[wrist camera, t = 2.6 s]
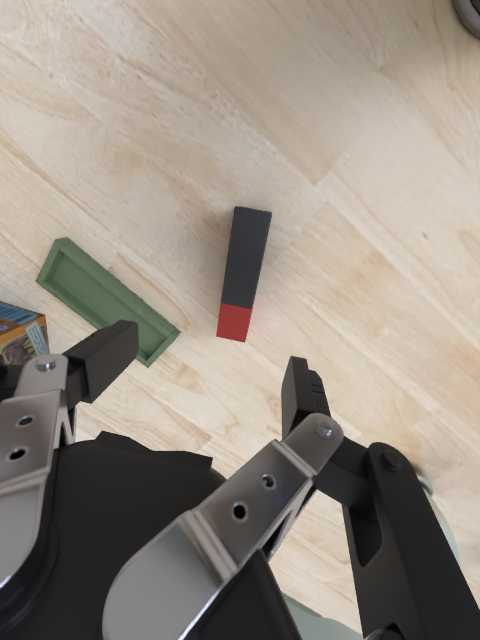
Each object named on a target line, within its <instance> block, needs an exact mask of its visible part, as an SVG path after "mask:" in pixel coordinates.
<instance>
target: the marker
mask: <svg viewBox="0 0 480 640" xmlns="http://www.w3.org/2000/svg"><path fill="white" fill-rule="evenodd" d="M271 217H272V212H267V211H261V210H256V209H251V208H245V207H237V206H235V208H234V215H233V223H232V230H231V237H230V244H229V251H228V258H227V265H226V272H225V279H224V286H223V293H222V300H221V307H220V314H219V321H218V328H217V335H216V336H217V337H222V338H226V339H231V340H235V341H240V342H245V340H246V336H247V332H248V328H249V323H250V318H251V313H252V308H253V304H254V299H255V294H256V289H257V284H258V280H259V275H260V270H261V265H262V260H263V255H264V251H265V246H266V241H267V236H268V231H269V226H270V222H271Z"/></svg>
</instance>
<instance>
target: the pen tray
mask: <svg viewBox="0 0 480 640" xmlns="http://www.w3.org/2000/svg"><path fill="white" fill-rule="evenodd" d="M36 282H37V283H38V284H39V285H41V286H42V287H43V288H45V289H46V290H47V291H48V292H50V293H51V294H52V295H54V296H55V297H56V298H58V299H59V300H60V301H61V302H63V303H64V304H65V305H67V306H68V307H69V308H71V309H72V310H73V311H74V312H76V313H77V314H78V315H80V316H81V317H82V318H83V319H85V320H86V321H87V322H89V323H90V324H91V325H93V326H94V327H95V328H96V329H98V330H99V329H102V328H105V327H108V326H111V325H113V324H114V323H116V322H117V321H119V320H120V319H124V320H129V321H133V322H137V324H138V338H139V350H138V354H137V356H136V358H135V359H137V360H138V361H139V362H141V363H142V364H143V365H144V366H146V367H147V368H149V367H150V365H151V364H152V363H153V362H154V361H155V360H156V359H157V358H158V357H159V356H160V355H161V354H162V353H163V352H164V351H165V350H166V349H167V347H168V346H169V345H170V344H171V343H172V342H173V341H174V340H175V339H176V338H177V337H178V335H179V334H180V333H181V332H180V331H179V330H177V329H176V328H175V327H174V326H173V325H171V324H170V323H169V322H168V321H167V320H165V319H164V318H163V317H162V316H161V315H159V314H158V313H157V312H156V311H155V310H153V309H152V308H151V307H150V306H149V305H147V304H146V303H145V302H144V301H143V300H141V299H140V298H139V297H138V296H137V295H135V294H134V293H133V292H132V291H131V290H129V289H128V288H127V287H126V286H125V285H123V284H122V283H121V282H120V281H119V280H117V279H116V278H115V277H114V276H113V275H111V274H110V273H109V272H108V271H107V270H105V269H104V268H103V267H102V266H101V265H99V264H98V263H97V262H96V261H95V260H93V259H92V258H91V257H90V256H89V255H87V254H86V253H85V252H84V251H83V250H81V249H80V248H79V247H78V246H77V245H75V244H74V243H73V242H72V241H71V240H69V239H68V238H61V239H56V240H55V242H54V244H53V246H52V248H51V250H50V252H49V254H48V256H47V258H46V261H45V263H44V265H43V267H42V269H41V271H40V273H39V275H38V277H37V279H36Z"/></svg>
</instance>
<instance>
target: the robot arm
mask: <svg viewBox="0 0 480 640" xmlns="http://www.w3.org/2000/svg"><path fill="white" fill-rule="evenodd" d="M453 1H454V4H455V8H456V11H457V13H458V15H459V17H460V19H461V21H462V23H463V24H464V25H465V26H466V28H467V29H468V30H469V31H470V32H472V33H473V34H474V35H476V36H478V37H480V0H453ZM138 350H139V338H138V324H137V322H133V321H129V320H124V319H120V320H119V321H117V322H116V323H114V324H113V325H111V326H108V327H105V328H102V329H99V330H97V331H96V332H94V333H93V334H91V335H90V336H88V337H87V338H85V339H84V340H82V341H80V342H79V343H77V344H76V345H74V346H73V347H71V348H70V349H68V350H67V351H65V352H64V353H62V354H45V355H41V356H38V357H35V358H33V359H31V360H29V361H28V362H27V363H25V364H5V360H4V357H3V355H1V354H0V640H302V638H301V635H300V633H299V631H298V629H297V626H296V624H295V622H294V620H293V617H292V615H291V613H290V611H289V608H288V606H287V604H286V602H285V599H284V597H283V595H282V593H281V591H280V588H279V586H278V584H277V582H276V579H275V577H274V575H273V573H272V570H271V568H270V566H269V564H268V562H269V561H270V559H271V558H272V556H273V555H274V554H275V552H276V551H277V549H278V548H279V546H280V545H281V543H282V542H283V540H284V539H285V537H286V535H287V534H288V532H289V530H290V529H291V527H292V525H293V524H294V522H295V521H296V520H297V518H298V517H299V515H300V514H301V513H302V511H303V510H304V508H305V507H306V506H307V504H308V503H309V501H310V500H311V498H312V497H313V496H314V494H315V493H316V491H317V490H319V491H321V492H323V493H324V494H326V495H328V496H329V497H331V498H333V499H335V500H336V501H338V502H340V503H341V504H342V510H343V517H344V523H345V529H346V535H347V541H348V547H349V553H350V559H351V565H352V571H353V577H354V584H355V590H356V596H357V602H358V608H359V614H360V620H361V626H362V632H363V638H364V640H480V610H479V608H478V605H477V603H476V601H475V599H474V597H473V595H472V593H471V591H470V588H469V586H468V584H467V582H466V580H465V578H464V576H463V573H462V571H461V569H460V567H459V565H458V563H457V561H456V559H455V557H454V554H453V552H452V550H451V548H450V546H449V544H448V542H447V539H446V537H445V535H444V533H443V531H442V529H441V527H440V525H439V522H438V520H437V518H436V516H435V514H434V512H433V510H432V507H431V505H430V503H429V501H428V499H427V497H426V495H425V492H424V490H423V488H422V486H421V484H420V482H419V480H418V478H417V475H416V473H415V471H414V469H413V467H412V465H411V463H410V462H409V461H408V459H407V458H406V457H405V456H404V455H403V454H402V453H401V452H399V451H398V450H397V449H395V448H394V447H392V446H390V445H388V444H385V443H381V442H375V443H372V444H371V445H370V446H369V448H366V447H364V446H362V445H360V444H358V443H356V442H354V441H352V440H350V439H348V438H347V437H345V436H344V433H343V430H342V428H341V427H340V425H339V424H338V423H337V422H336V421H335V420H333V419H332V418H331V414H330V410H329V406H328V402H327V399H326V395H325V391H324V388H323V383H322V379H321V378H320V376H319V375H318V374H317V373H316V371H312V370H309V369H308V364H307V360H306V359H304V358H300V357H295V356H291V357H290V359H289V363H288V366H287V369H286V372H285V376H284V379H283V383H282V390H281V402H282V440H281V441H280V442H279V441H278V440H276V439H274V440H272V441H271V442H270V443H268V444H267V445H266V446H265V447H264V448H263V449H262V450H260V451H259V452H258V453H257V454H256V455H255V456H254V457H253V458H251V459H250V460H249V461H248V462H247V463H246V464H245V465H244V466H242V467H241V468H240V469H239V470H238V471H237V472H236V473H234V474H233V475H232V476H231V477H230V478H229V479H228V480H227V479H226V478H225V477H224V476H223V475H221V474H220V473H219V472H217V471H216V470H214V469H213V468H211V466H212V460H213V458H212V457H208V456H204V455H200V454H195V453H191V452H187V451H153V450H150V449H149V448H147V447H145V446H143V445H142V444H140V443H138V442H136V441H135V440H133V439H131V438H129V437H126V436H122V435H118V434H114V433H110V432H106V431H101V433H100V434H99V435H98V436H97V438H96V439H95V440H85V441H80V442H76V443H75V440H76V418H77V408H76V405H77V404H78V403H79V402H80V401H82V402H86V403H90V404H92V403H93V402H94V401H95V400H96V399H97V398H98V397H99V396H100V394H101V393H102V392H103V391H104V390H105V389H106V388H107V387H108V386H109V385H110V384H111V383H112V382H113V381H114V380H115V379H116V378H117V377H118V376H119V375H120V374H121V373H122V372H123V371H124V370H125V369H126V368H127V367H128V365H129V364H130V363H131V362H132V361H133V360H134V359H135V358H136V356H137V354H138Z"/></svg>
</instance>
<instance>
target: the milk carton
mask: <svg viewBox="0 0 480 640" xmlns="http://www.w3.org/2000/svg"><path fill="white" fill-rule="evenodd" d="M0 354H1V355H3V357H4V360H5V364H25V363H27V362H28V361H29V360H31V359H33V358H35V357H38V356H41V355H45V354H49V345H48V337H47V328H46V320H45V315H42V314H39V313H36V312H33V311H30V310H26V309H23V308H20V307H17V306H13V305H10V304H7V303H4V302H1V301H0Z"/></svg>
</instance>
